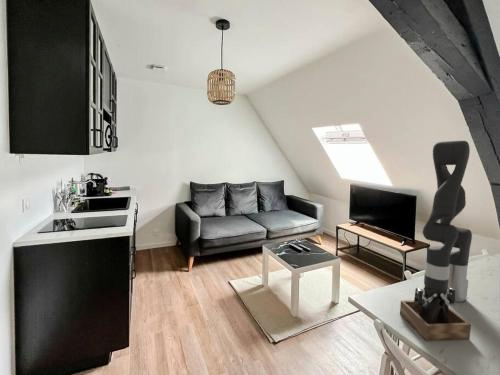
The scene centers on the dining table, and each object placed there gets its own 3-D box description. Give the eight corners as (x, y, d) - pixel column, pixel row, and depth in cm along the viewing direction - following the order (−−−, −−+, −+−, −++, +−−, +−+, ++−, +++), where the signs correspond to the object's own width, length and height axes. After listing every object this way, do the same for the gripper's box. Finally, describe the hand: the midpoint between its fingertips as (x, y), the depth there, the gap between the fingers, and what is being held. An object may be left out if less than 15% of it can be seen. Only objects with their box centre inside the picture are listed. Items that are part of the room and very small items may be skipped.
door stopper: (429, 330, 99) (431, 300, 98) (416, 320, 105) (418, 292, 103) (449, 327, 101) (452, 297, 99) (436, 317, 107) (438, 289, 105)
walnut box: (437, 312, 111) (438, 299, 111) (469, 339, 96) (471, 324, 95) (399, 313, 111) (400, 300, 110) (426, 341, 95) (427, 326, 94)
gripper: (447, 269, 104) (443, 307, 106) (411, 270, 104) (409, 308, 106) (463, 278, 97) (458, 319, 99) (424, 279, 96) (421, 320, 99)
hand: (433, 313), depth 103 cm, fingers open, 8 cm apart
